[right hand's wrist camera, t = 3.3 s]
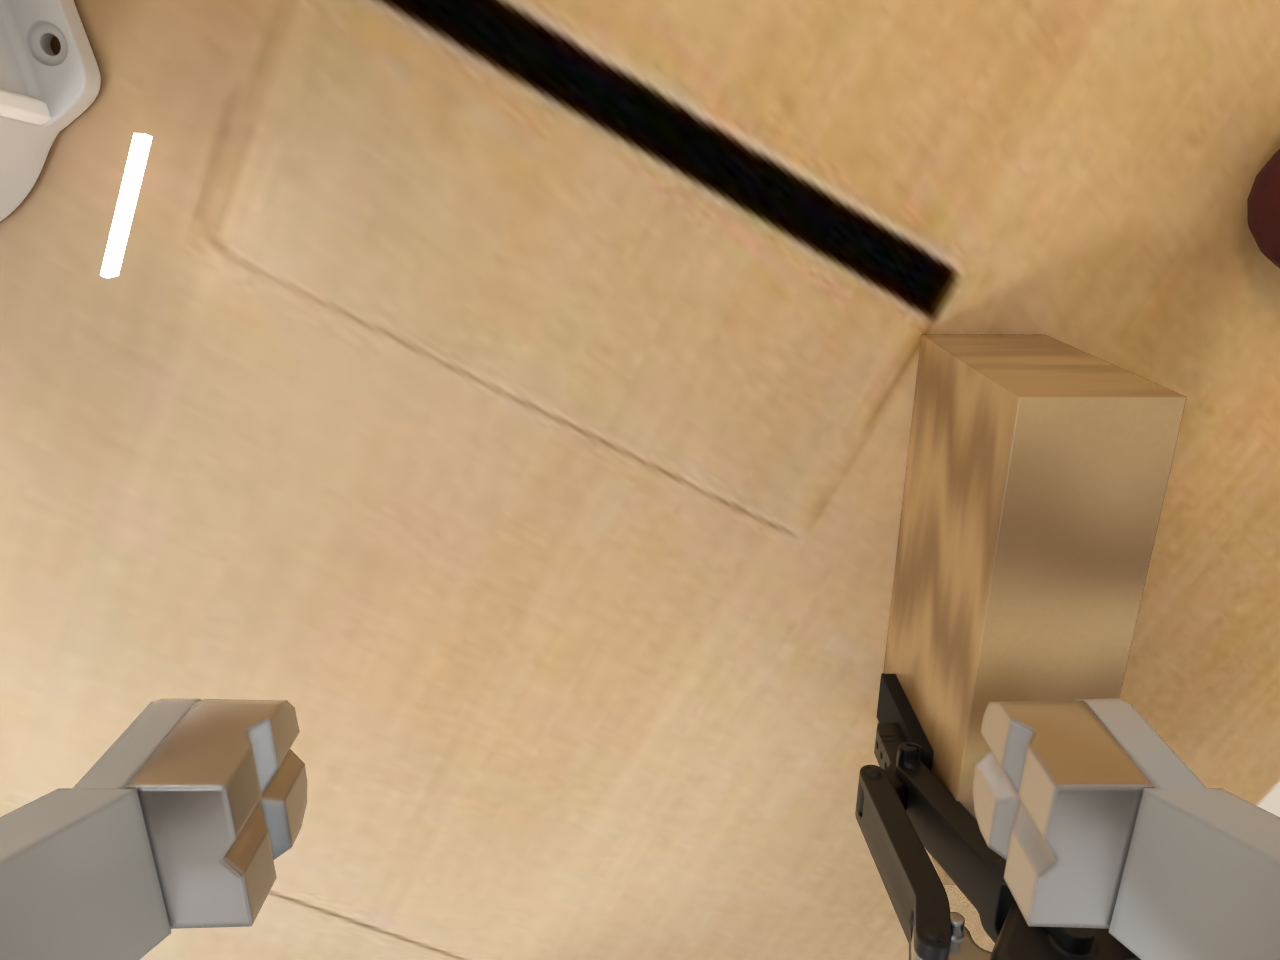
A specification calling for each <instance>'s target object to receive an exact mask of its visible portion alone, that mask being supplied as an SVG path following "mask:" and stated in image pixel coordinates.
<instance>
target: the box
mask: <svg viewBox="0 0 1280 960" xmlns="http://www.w3.org/2000/svg"><path fill="white" fill-rule="evenodd" d="M1185 402H1186V397H1185V396H1183V395H1180V394H1178V393H1176V392H1173V391H1171V390H1169V389H1167V388H1164V387H1162V386H1160V385H1158V384H1155V383H1153V382H1151V381H1148V380H1146V379H1144V378H1142V377H1139V376H1137V375H1135V374H1133V373H1130V372H1128V371H1126V370H1124V369H1121V368H1119V367H1117V366H1114V365H1112V364H1110V363H1108V362H1105V361H1103V360H1101V359H1099V358H1096V357H1094V356H1092V355H1090V354H1087V353H1085V352H1083V351H1080V350H1078V349H1076V348H1074V347H1071V346H1069V345H1067V344H1065V343H1062V342H1060V341H1058V340H1055V339H1053V338H1051V337H1049V336H1046V335H922V336H921V345H920V354H919V362H918V371H917V380H916V389H915V398H914V407H913V416H912V424H911V433H910V442H909V451H908V460H907V469H906V478H905V486H904V495H903V504H902V513H901V522H900V531H899V540H898V548H897V557H896V566H895V575H894V584H893V593H892V601H891V610H890V619H889V628H888V637H887V646H886V655H885V663H884V672H883V674H896V676H897V678H898V680H899V682H900V684H901V686H902V688H903V690H904V692H905V694H906V696H907V698H908V700H909V702H910V704H911V706H912V708H913V710H914V712H915V714H916V717H917V719H918V721H919V723H920V725H921V727H922V729H923V731H924V733H925V735H926V737H927V739H928V741H929V743H930V745H931V747H932V749H933V751H934V754H933V761H932V768H931V772H932V773H933V774H934V776H935V777H936V778H937V779H938V780H939V781H940V782H941V783H942V784H943V785H944V786H945V787H946V788H947V789H948V790H949V791H950V792H951V793H952V794H953V796H954V798H955V800H956V801H959V802H960V803H961V804H962V805H963V806H964V807H965V808H966V809H967V810H968V811H969V812H970V813H971V814H972V815H973V816H974V817H975V819H976V820H977V818H976V815H975V810H974V799H973V789H972V788H973V779H974V771H975V764H976V763H977V762H978V761H979V760H980V759H981V758H982V757H983V756H984V755H985V754H986V753H987V751H988V750H989V749H990V747H989V746H988V744H987V742H986V740H985V739H984V737H983V735H982V734H981V726H982V721H983V715H984V712H985V710H986V708H987V706H988V704H989V702H1015V701H1075V700H1080V699H1110V698H1119V697H1120V693H1121V688H1122V684H1123V679H1124V675H1125V670H1126V666H1127V661H1128V657H1129V652H1130V648H1131V643H1132V639H1133V634H1134V630H1135V625H1136V621H1137V616H1138V612H1139V608H1140V603H1141V599H1142V594H1143V590H1144V585H1145V581H1146V576H1147V572H1148V567H1149V563H1150V558H1151V554H1152V549H1153V545H1154V540H1155V536H1156V531H1157V527H1158V522H1159V518H1160V514H1161V509H1162V505H1163V500H1164V496H1165V491H1166V487H1167V482H1168V478H1169V473H1170V469H1171V464H1172V460H1173V455H1174V451H1175V446H1176V442H1177V437H1178V433H1179V429H1180V424H1181V420H1182V415H1183V411H1184V406H1185ZM878 723H879V721H878ZM877 726H878V725H877ZM931 856H932V855H931ZM932 858H933V857H932ZM933 861H934V863H935V865H936V868H937V870H938V873H939V875H940V877H941V880H942V882H943V884H944V885H956V884H955V883H954V882H953V881H952V879H951V878H950V877H949V876H948V875H947V873H946V872H945V871H944V870H943V869H942V867H941V866H940V865H939V864H938V863H937V861H936V860H935V859H934V858H933Z"/></svg>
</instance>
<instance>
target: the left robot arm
mask: <svg viewBox="0 0 1280 960" xmlns="http://www.w3.org/2000/svg"><path fill="white" fill-rule="evenodd" d="M877 718H878V721H879V723H878V727H877V733H876V742H875V751H874V753H875V756H876V758H877V760H878V763H879V765H880V767H879V766H876V765H866V766H864V767H862V768H861V770H860V776H859V785H858V794H857V804H856V813H855V814H856V819H857V821H858V823H859V826H860V828H861V831H862V833H863V835H864V838H865V840H866V842H867V845H868V847H869V850H870V852H871V854H872V857H873V859H874V862H875V864H876V866H877V869H878V871H879V873H880V876H881V878H882V881H883V883H884V885H885V888H886V890H887V892H888V895H889V897H890V900H891V902H892V904H893V907H894V909H895V911H896V914H897V916H898V919H899V921H900V923H901V926H902V928H903V930H904V933H905V935H906V938H907V940H908V942H909V960H1141V959H1140V958H1139V957H1137V956H1136V955H1135V954H1134V953H1133V952H1131V951H1130V950H1129V949H1128V948H1127V947H1125V946H1124V945H1123V944H1122V943H1121V942H1120V941H1118V940H1117V939H1116V938H1115V937H1114V936H1112V935H1111V934H1110V933H1109V929H1106V928H1071V927H1036V926H1028V924H1027V922H1026V920H1025V918H1024V916H1023V914H1022V912H1021V911H1020V909H1019V907H1018V905H1017V903H1016V901H1015V899H1014V897H1013V895H1012V893H1011V891H1010V889H1009V887H1008V885H1007V883H1006V881H1005V879H1004V873H1005V867H1006V861H1007V860H1006V859H1004V858H1003V857H1001V856H1000V855H999V854H997V853H996V852H994V851H993V850H992V849H990V848H989V847H988V846H987V844H986V842H985V839H984V837H983V835H982V833H981V831H980V828H979V825H978V822H977V820H976V819H975V817H974V816H973V815H972V814H971V813H970V812H969V811H968V810H967V809H966V808H965V807H964V806H963V805H962V804H961V803H960V802H959V801H956V800H955V798H954V796H953V794H952V793H951V792H950V791H949V790H948V789H947V788H946V787H945V786H944V785H943V784H942V783H941V782H940V781H939V780H938V779H937V778H936V777H935V776H934V774H933V773H932V772H931V768H932V761H933V754H934V751H933V749H932V747H931V745H930V743H929V741H928V739H927V737H926V735H925V733H924V731H923V729H922V727H921V725H920V723H919V721H918V719H917V717H916V714H915V712H914V710H913V708H912V706H911V704H910V702H909V700H908V698H907V696H906V694H905V692H904V690H903V688H902V686H901V684H900V682H899V680H898V678H897V676H896V674H881V683H880V692H879V701H878V710H877ZM924 847H925V848H926V850H927V851H928V852H929V853H930V854H931V855H932V857H933V858H934V859H935V860H936V861H937V863H938V864H939V865H940V866H941V867H942V869H943V870H944V871H945V872H946V873H947V875H948V876H949V877H950V878H951V879H952V881H953V882H954V883H955V884H956V885H957V886H958V888H959V889H960V890H961V891H962V892H963V894H964V895H965V896H966V897H967V898H968V900H969V901H970V902H971V903H972V904H973V906H974V907H975V908H976V909H977V911H978V913H979V915H980V919H981V923H982V926H983V928H984V930H985V931H986V933H987V934H988V935H989V936H990V938H991V939H992V940H993V941H994V942H995V946H994V948H993V951H992V952H989V951H986V950H984V949H982V948H980V947H979V946H978V945H977V944H975V942H974V941H973V940H972V937H971V935H970V932H969V931H968V929H967V928H966V927H965V926H964V923H965V920H964V918H963V916H962V915H961V914H959V913H957V912H950V907H949V901H948V897H947V894H946V891H945V889H944V886H943V884H942V882H941V880H940V878H939V876H938V874H937V872H936V870H935V868H934V866H933V864H932V862H931V860H930V858H929V856H928V854H927V852H926V850H925V848H924Z"/></svg>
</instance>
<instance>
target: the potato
mask: <svg viewBox="0 0 1280 960" xmlns="http://www.w3.org/2000/svg"><path fill="white" fill-rule="evenodd" d="M1248 225H1249V228H1250V230H1251V232H1252V234H1253V236H1254V238H1255V240H1256V243H1257V245H1258V247H1259V249H1260V251H1261V252H1262V253H1263V254H1264V255H1265V256H1266V257H1267V258H1268V259H1269V260H1271V261H1272V262H1273V263H1274V264H1275V265H1276V266H1278V267H1279V268H1280V149H1279V150H1278V151H1277V152H1276V153H1275V154H1274V155H1273V156H1272V158H1271V159H1270V160H1269V161H1268V163H1267V164H1266V165H1265V166H1264V168H1263V169H1262V170H1261V171H1260V173H1259V174H1258V175H1257V176H1256V179H1255V182H1254V184H1253V187H1252V189H1251V192H1250V195H1249V197H1248Z"/></svg>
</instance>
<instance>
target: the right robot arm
mask: <svg viewBox="0 0 1280 960" xmlns="http://www.w3.org/2000/svg"><path fill="white" fill-rule="evenodd" d="M54 36H56V37H57V38H58V40H59V41H60V44H61V49H60V52H59V53H58V54H57V55H55V54H54V52H53V51H52V49H51V40H52V38H53V37H54ZM100 87H101V76H100V71H99V68H98V65H97V62H96V59H95V56H94V54H93V51H92V48H91V46H90V43H89V40H88V38H87V35H86V32H85V30H84V27H83V24H82V21H81V19H80V16H79V13H78V11H77V8H76V5H75V3H74V0H0V222H1V221H2V220H4V219H5V218H6V217H8V216H9V215H10V214H11V213H12V212H13V211H14V210H15V209H16V208H17V207H18V206H19V205H20V204H21V203H22V202H23V200H24V199H25V198H26V196H27V195H28V194H29V192H30V191H31V189H32V188H33V186H34V184H35V183H36V181H37V179H38V177H39V175H40V173H41V170H42V168H43V165H44V163H45V160H46V158H47V155H48V153H49V150H50V148H51V146H52V144H53V142H54V140H55V138H56V137H57V135H58V134H59V132H60V131H61V130H63V129H64V128H65V127H67V126H68V125H69V124H70V123H71V122H73V121H74V120H75V119H76V118H78V117H79V116H80V115H81V114H82V113H83V112H84V111H85V110H86V109H87V108H89V106H90V105H91V104H92V103H93V102H94V100H95V99H96V97H97V96H98V93H99V91H100ZM151 141H152V136H149V135H147V134H142V133H134V134H133V138H132V143H131V147H130V151H129V155H128V159H127V164H126V168H125V172H124V176H123V180H122V185H121V189H120V193H119V197H118V201H117V206H116V210H115V214H114V218H113V222H112V227H111V231H110V235H109V239H108V244H107V248H106V252H105V256H104V260H103V265H102V269H101V273H100V276H103V277H105V278H111V277H115V276H119V272H120V268H121V264H122V260H123V255H124V251H125V247H126V243H127V239H128V235H129V231H130V227H131V223H132V219H133V215H134V211H135V206H136V202H137V198H138V194H139V190H140V186H141V182H142V178H143V174H144V170H145V166H146V162H147V157H148V153H149V149H150V145H151ZM298 734H299V727H298V722H297V717H296V712H295V708H294V707H293V706H292V705H291V704H290V703H289V702H288V701H276V700H229V699H204V700H201V699H161V700H157V701H154V702H151V703H150V704H149V705H148V706H147V707H146V708H145V709H144V710H143V712H142V713H141V714H140V715H139V716H138V717H137V718H136V719H135V720H134V722H133V723H132V724H131V725H130V726H129V727H128V728H127V729H126V730H125V731H124V733H123V734H122V735H121V736H120V737H119V738H118V739H117V740H116V741H115V742H114V744H113V745H112V746H111V747H110V748H109V749H108V750H107V751H106V752H105V753H104V755H103V756H102V757H101V758H100V759H99V760H98V761H97V762H96V763H95V764H94V766H93V767H92V768H91V769H90V770H89V771H88V772H87V773H86V774H85V776H84V777H83V778H82V779H81V780H80V781H79V782H78V783H77V784H76V785H75V787H74V788H73V789H57V790H55V791H53V792H51V793H49V794H47V795H45V796H43V797H41V798H39V799H37V800H35V801H33V802H31V803H29V804H27V805H24V806H22V807H20V808H18V809H16V810H14V811H12V812H10V813H8V814H6V815H4V816H2V817H0V960H139V959H141V958H142V957H143V956H144V955H145V954H147V953H148V952H149V951H150V950H151V949H153V948H154V947H155V946H156V945H157V944H159V943H160V942H161V941H162V940H163V939H165V938H166V937H167V936H168V935H169V934H170V933H171V929H173V928H208V927H242V926H252V924H253V922H254V920H255V919H256V917H257V915H258V913H259V911H260V909H261V907H262V905H263V903H264V901H265V899H266V897H267V895H268V893H269V891H270V889H271V887H272V885H273V883H274V881H275V879H276V873H275V867H274V861H273V860H274V859H276V858H277V857H279V856H280V855H281V854H283V853H284V852H286V851H287V850H289V849H290V848H291V847H292V846H293V844H294V841H295V839H296V837H297V835H298V833H299V831H300V829H301V826H302V821H303V817H304V813H305V808H306V804H307V777H306V770H305V764H304V763H303V762H302V761H301V760H300V759H299V758H298V757H297V756H296V755H295V754H294V752H293V751H292V750H291V749H290V747H291V746H292V744H293V742H294V741H295V739H296V737H297V735H298ZM981 734H982V735H983V737H984V739H985V740H986V742H987V744H988V746H989V747H990V749H989V750H988V751H987V753H986V754H985V755H984V756H983V757H982V758H981V759H980V760H979V761H978V762H977V763H976V764H975V771H974V779H973V788H972V789H973V799H974V810H975V815H976V818H977V822H978V825H979V828H980V831H981V833H982V835H983V837H984V839H985V842H986V844H987V846H988V847H989V848H990V849H992V850H993V851H994V852H996V853H997V854H999V855H1000V856H1001V857H1003V858H1004V859H1006V860H1007V861H1006V867H1005V873H1004V879H1005V881H1006V883H1007V885H1008V887H1009V889H1010V891H1011V893H1012V895H1013V897H1014V899H1015V901H1016V903H1017V905H1018V907H1019V909H1020V911H1021V912H1022V914H1023V916H1024V918H1025V920H1026V922H1027V924H1028V926H1036V927H1071V928H1106V929H1109V933H1110V934H1111V935H1112V936H1114V937H1115V938H1116V939H1117V940H1118V941H1120V942H1121V943H1122V944H1123V945H1124V946H1125V947H1127V948H1128V949H1129V950H1130V951H1131V952H1133V953H1134V954H1135V955H1136V956H1137V957H1139V958H1140V959H1141V960H1280V817H1278V816H1276V815H1274V814H1272V813H1270V812H1267V811H1266V810H1263V809H1261V808H1259V807H1257V806H1255V805H1253V804H1251V803H1249V802H1247V801H1245V800H1243V799H1241V798H1239V797H1237V796H1235V795H1233V794H1231V793H1229V792H1227V791H1225V790H1223V789H1207V788H1206V787H1205V785H1204V784H1203V783H1202V782H1201V781H1200V780H1199V779H1198V778H1197V777H1196V776H1195V774H1194V773H1193V772H1192V771H1191V770H1190V769H1189V768H1188V767H1187V766H1186V764H1185V763H1184V762H1183V761H1182V760H1181V759H1180V758H1179V757H1178V756H1177V755H1176V753H1175V752H1174V751H1173V750H1172V749H1171V748H1170V747H1169V746H1168V745H1167V744H1166V742H1165V741H1164V740H1163V739H1162V738H1161V737H1160V736H1159V735H1158V734H1157V732H1156V731H1155V730H1154V729H1153V728H1152V727H1151V726H1150V725H1149V724H1148V723H1147V721H1146V720H1145V719H1144V718H1143V717H1142V716H1141V715H1140V714H1139V713H1138V712H1137V710H1136V709H1135V708H1134V707H1133V706H1132V705H1131V704H1130V703H1128V702H1126V701H1124V700H1122V699H1120V698H1110V699H1080V700H1075V701H1015V702H989V704H988V706H987V708H986V710H985V712H984V715H983V721H982V726H981Z"/></svg>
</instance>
